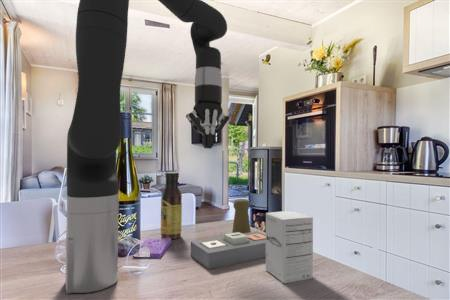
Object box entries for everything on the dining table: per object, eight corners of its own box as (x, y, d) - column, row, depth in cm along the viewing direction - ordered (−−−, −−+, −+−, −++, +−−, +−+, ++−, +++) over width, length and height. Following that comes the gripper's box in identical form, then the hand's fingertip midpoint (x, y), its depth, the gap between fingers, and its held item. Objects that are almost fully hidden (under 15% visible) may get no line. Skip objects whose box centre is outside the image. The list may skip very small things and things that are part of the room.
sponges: (171, 244, 83) (171, 238, 83) (160, 260, 71) (160, 252, 71) (146, 244, 83) (147, 237, 83) (132, 260, 71) (132, 252, 71)
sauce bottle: (159, 235, 91) (160, 171, 91) (179, 233, 93) (180, 171, 93) (161, 241, 85) (162, 172, 85) (183, 239, 86) (183, 172, 87)
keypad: (208, 269, 64) (208, 253, 64) (190, 255, 72) (190, 241, 72) (280, 253, 74) (280, 240, 74) (257, 243, 82) (257, 231, 82)
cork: (251, 231, 96) (251, 198, 96) (250, 236, 90) (250, 200, 90) (232, 231, 96) (232, 197, 96) (231, 236, 90) (231, 200, 90)
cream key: (209, 258, 67) (209, 247, 67) (201, 252, 71) (201, 242, 71) (225, 255, 69) (225, 244, 69) (217, 249, 73) (217, 239, 73)
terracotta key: (254, 249, 73) (254, 239, 73) (245, 244, 77) (245, 235, 77) (268, 246, 75) (268, 237, 75) (258, 242, 79) (258, 233, 79)
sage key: (233, 248, 70) (233, 238, 70) (224, 243, 74) (224, 233, 74) (248, 245, 72) (248, 235, 72) (238, 241, 76) (238, 231, 76)
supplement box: (264, 270, 63) (264, 212, 63) (293, 265, 66) (293, 210, 66) (282, 284, 56) (282, 219, 57) (314, 278, 59) (314, 216, 59)
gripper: (191, 80, 75) (191, 147, 74) (235, 86, 81) (235, 148, 81) (181, 86, 81) (180, 148, 81) (222, 91, 88) (222, 149, 87)
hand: (208, 148), depth 81 cm, fingers closed
